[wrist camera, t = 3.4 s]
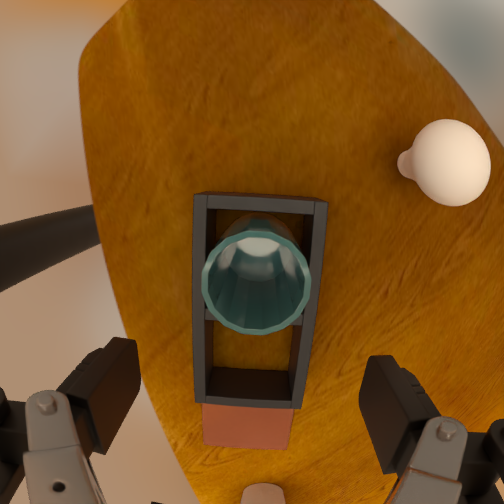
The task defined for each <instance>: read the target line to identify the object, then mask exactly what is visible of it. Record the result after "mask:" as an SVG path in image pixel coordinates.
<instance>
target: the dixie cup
mask: <svg viewBox="0 0 504 504" xmlns="http://www.w3.org/2000/svg"><path fill="white" fill-rule="evenodd" d="M241 504H286V503H285V499H284V494H283V490H282V489H281V488H280V487H279V486H277V485H274V484H269V483H258V484H253V485H250V486H248V487H246V488H245V489H244V491H243V495H242V500H241Z"/></svg>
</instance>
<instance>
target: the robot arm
mask: <svg viewBox="0 0 504 504" xmlns="http://www.w3.org/2000/svg"><path fill="white" fill-rule="evenodd" d="M140 385H141V374H140V366H139V358H138V350H137V343H136V341H135V340H133V339H126V338H120V337H113V338H112V339H111V340H110V342H109V343H108V344H107V345H106V346H105V347H104V348H98V349H96V350H95V351H93V352H91V353H89V354H88V355H87V356H86V357H85V358H84V359H83V360H82V362H81V363H80V364H79V365H78V366H77V367H76V369H75V370H73V371H72V372H71V374H70V375H69V376H68V377H67V378H66V379H65V380H64V382H63V383H62V384H61V385H60V386H59V387H58V388H57V389H56V391H54V390H45V391H40V392H37V393H35V394H33V395H32V396H31V397H29V398H28V400H27V402H19V401H9V400H7V398H6V396H5V393H4V391H3V389H2V388H1V387H0V504H9V503H10V501H11V499H12V497H13V496H14V494H15V492H16V490H17V488H18V487H19V485H20V483H21V482H22V480H23V478H24V477H25V476H26V483H27V489H28V494H29V500H30V504H107V503H106V500H105V498H104V496H103V493H102V491H101V488H100V486H99V483H98V481H97V478H96V475H95V473H94V470H93V467H92V465H91V462H90V459H89V457H90V455H91V454H92V452H97V453H100V454H103V455H106V453H107V451H108V449H109V447H110V445H111V443H112V441H113V439H114V437H115V436H116V434H117V432H118V430H119V428H120V426H121V424H122V422H123V421H124V419H125V417H126V415H127V413H128V411H129V409H130V408H131V406H132V404H133V402H134V400H135V398H136V396H137V395H138V392H139V390H140ZM420 385H421V384H420V383H419V381H418V380H417V378H416V377H415V375H413V374H412V373H410V372H409V371H408V370H406V369H405V368H400V367H399V365H398V364H397V362H396V361H395V359H394V358H393V356H392V355H375V356H370V357H369V359H368V362H367V365H366V369H365V373H364V377H363V381H362V384H361V388H360V392H359V408H360V410H361V413H362V416H363V419H364V421H365V424H366V427H367V429H368V432H369V435H370V438H371V440H372V443H373V446H374V449H375V452H376V455H377V457H378V460H379V463H380V466H381V469H382V472H383V475H384V474H390V473H397V476H398V478H397V480H396V482H395V484H394V485H393V487H392V489H391V491H390V493H389V495H388V496H387V498H386V500H385V502H384V504H504V501H503V499H502V497H501V495H500V493H499V491H498V489H497V487H496V485H495V483H496V482H497V481H498V479H499V478H501V480H502V482H503V483H504V419H499V420H496V421H494V422H493V423H492V424H491V426H490V428H489V429H488V431H487V433H479V432H467V430H466V428H465V426H464V425H463V424H462V423H461V422H459V421H458V420H456V419H454V418H451V417H446V416H441V414H440V413H439V411H438V410H437V408H436V407H435V405H434V404H433V402H432V401H431V399H430V398H429V396H428V395H427V393H426V394H425V390H424V389H423V387H422V386H420ZM151 504H162V503H156V502H151Z"/></svg>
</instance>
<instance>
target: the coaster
mask: <svg viewBox="0 0 504 504" xmlns="http://www.w3.org/2000/svg"><path fill="white" fill-rule="evenodd" d="M293 412H294V409H274V408H253V407H237V406H225V405H214V404H205V403H202V421H203V441H204V445H213V446H223V447H235V448H250V449H275V450H287V445H288V440H289V434H290V429H291V424H292V418H293Z"/></svg>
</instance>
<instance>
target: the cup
mask: <svg viewBox="0 0 504 504" xmlns="http://www.w3.org/2000/svg"><path fill="white" fill-rule="evenodd" d="M311 281H312V277H311V274H310V271H309V268H308V264H307V261H306V258H305V257H304V255H303V253H302V251H301V249H300V247H299V245H298V243H297V242H296V240H295V238H294V236H293V234H292V232H291V231H290V230H289V228H288V227H287V226H286V225H285V224H284V223H283V222H282V221H281V220H280V219H278V218H277V217H275V216H272V215H270V214H266V213H250V214H246V215H244V216H241V217H239V218H237V219H236V220H235V221H234V222H233V223H232V224H231V225H230V226H229V227H228V228H227V229H226V230H225V232H224V233H223V235H222V236H221V238H220V239H219V241H218V242H217V243H216V245H215V246H214V248H213V249H212V251H211V252H210V254H209V256H208V258H207V261H206V263H205V265H204V267H203V269H202V276H201V292H202V295H203V297H204V300H205V302H206V305H207V307H208V309H209V311H210V312H211V313H212V314H213V315H214V316H215V317H216V318H217V319H218V320H219V321H220V322H221V323H222V324H223V325H224V326H226V327H228V328H230V329H233V330H235V331H237V332H239V333H242V334H251V335H266V334H269V333H272V332H276V331H279V330H282V329H284V328H285V327H286V326H288V325H289V324H290V323H292V322H293V321H294V320H295V319H297V318H298V317H299V316H300V314H301V313H302V311H303V309H304V307H305V306H306V304H307V302H308V300H309V298H310V290H311Z"/></svg>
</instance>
